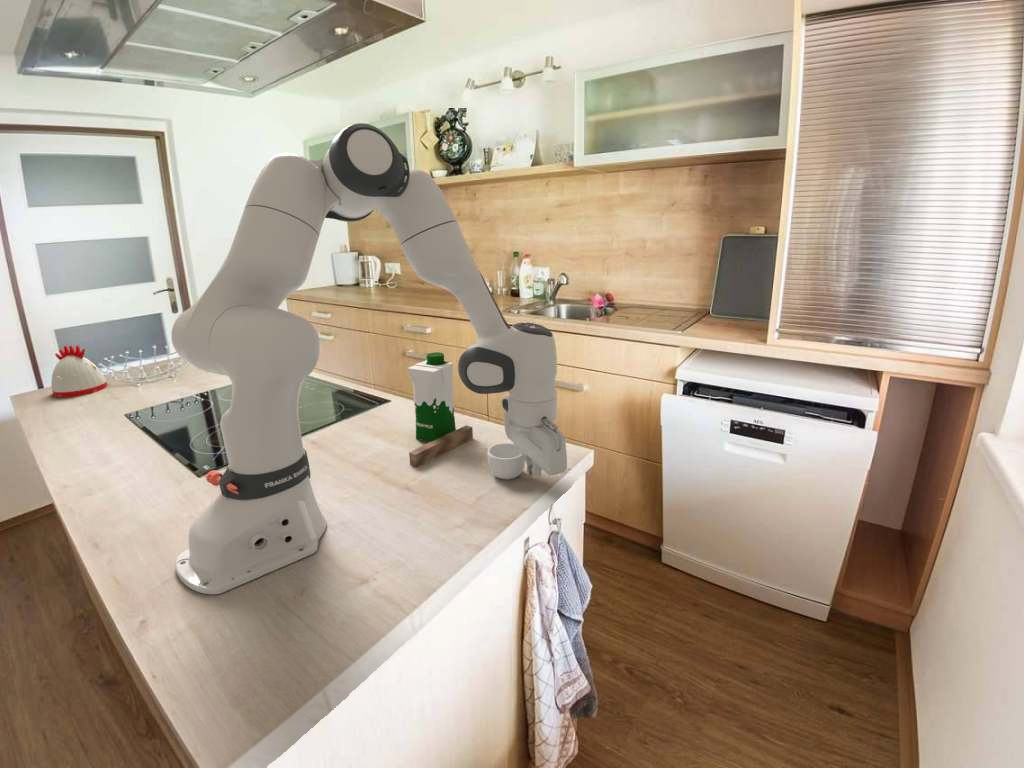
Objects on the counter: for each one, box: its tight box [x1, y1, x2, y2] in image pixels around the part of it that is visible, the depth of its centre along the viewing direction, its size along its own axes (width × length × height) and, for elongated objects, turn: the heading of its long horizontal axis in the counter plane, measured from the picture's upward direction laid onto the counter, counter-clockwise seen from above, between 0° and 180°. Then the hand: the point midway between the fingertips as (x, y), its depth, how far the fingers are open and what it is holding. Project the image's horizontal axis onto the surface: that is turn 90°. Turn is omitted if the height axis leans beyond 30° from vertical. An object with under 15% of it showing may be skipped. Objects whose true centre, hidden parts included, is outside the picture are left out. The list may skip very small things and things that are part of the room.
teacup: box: [485, 442, 526, 480], centre depth 106 cm, size 10×8×5 cm
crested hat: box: [50, 344, 108, 398], centre depth 166 cm, size 14×14×15 cm
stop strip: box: [408, 424, 474, 468], centre depth 116 cm, size 18×2×3 cm, turn 142°
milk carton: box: [407, 352, 457, 443], centre depth 122 cm, size 9×9×20 cm
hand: (534, 475), depth 101 cm, fingers closed
